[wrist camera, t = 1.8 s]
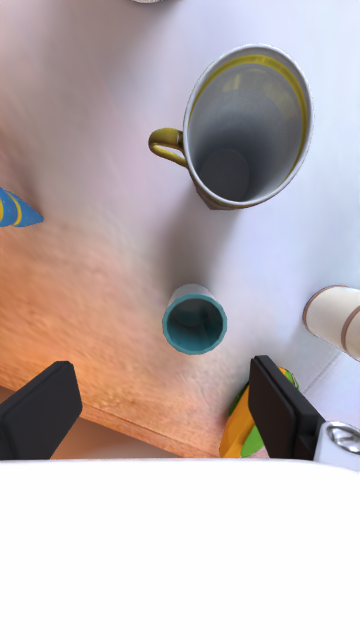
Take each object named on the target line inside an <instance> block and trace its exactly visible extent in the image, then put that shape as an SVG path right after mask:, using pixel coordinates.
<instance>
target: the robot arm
mask: <svg viewBox="0 0 360 640" xmlns="http://www.w3.org/2000/svg"><path fill="white" fill-rule="evenodd" d="M132 1H136V2H140V3H155V2H158V1H161V0H132ZM82 407H83V406H82V401H81V397H80V392H79V388H78V384H77V379H76V375H75V370H74V366H73V364H71V363H70V362H69V361H56V362H54V363H53V364H52V365H50V366H49V367H48V368H46V369H45V370H44V371H43V372H41V373H40V374H39V375H37V376H36V377H35V378H34V379H32V380H31V381H30V382H28V383H27V384H26V385H25V386H23V387H22V388H21V389H19V390H18V391H17V392H16V393H14V394H13V395H12V396H10V397H9V398H8V399H7V400H5V401H4V402H3V403H1V404H0V640H360V430H359V429H358V428H356V427H354V426H351V425H349V424H346V423H343V422H338V421H327V422H326V421H325V419H324V418H323V417H322V416H321V415H320V414H319V413H318V412H317V410H316V409H315V408H314V407H313V406H312V405H311V404H310V403H309V401H308V400H307V399H306V398H305V397H304V396H303V395H302V394H301V392H300V391H299V390H298V389H297V388H296V387H295V386H294V385H293V383H291V382H290V380H289V379H288V378H287V377H286V376H285V375H284V374H283V373H282V371H281V370H280V369H279V368H278V367H277V366H276V365H275V364H274V362H273V361H272V360H271V359H270V358H269V357H268V356H267V355H262V356H255V357H254V359H251V363H250V377H249V391H248V408H249V411H250V413H251V416H252V418H253V420H254V423H255V425H256V427H257V429H258V432H259V434H260V436H261V439H262V441H263V443H264V445H265V448H266V450H267V452H268V455H269V457H270V458H144V459H65V460H64V459H63V460H62V459H61V460H49V459H50V458H51V456H52V455H53V453H54V452H55V450H56V449H57V447H58V446H59V444H60V443H61V441H62V440H63V438H64V437H65V436H66V434H67V433H68V431H69V430H70V428H71V427H72V425H73V424H74V422H75V421H76V419H77V418H78V417H79V415H80V414H81V412H82Z"/></svg>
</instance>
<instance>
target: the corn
mask: <svg viewBox="0 0 360 640" xmlns="http://www.w3.org/2000/svg"><path fill="white" fill-rule="evenodd" d="M278 368H279V369H280V370H281V371H282V373H283V374H284V375H285V376H286V377H287V378H288V379H289V380H290V382H291V383H293V385H294V386H295V382H294V380H293V377H292V375H293V374H292V373H290V372H289V371H287V370H286V369H284V368H281V367H278ZM294 379H295V378H294ZM295 381H296V379H295ZM296 384H297V389H298V390H299V385H298V383H297V381H296ZM248 391H249V382H248V383H247V384H246V386H245V387H244V388H243V390H242V391H241V392H240V394H239V395H238V396H237V398H236V399H235V401H234V403H233V405H232V406H231V408H230V410H229V412H228V414H227V416H226V417H228V416H230V418H229V420H228V421H227V423H226V427H225V430H224V433H223V437H222V440H221V443H220V447H219V453H220V457H221V458H239V457H240V456H242V457H243V458H245V457H247V456H249V455H251V454H253V453H254V452H256V451H258V450H259V449H261V447H262V446H263V445H264V443H263V441H262V439H261V436H260V434H259V432H258V429H257V427H256V425H255V423H254V420H253V418H252V416H251V413H250V411H249V408H248Z"/></svg>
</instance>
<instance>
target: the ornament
mask: <svg viewBox="0 0 360 640" xmlns="http://www.w3.org/2000/svg"><path fill="white" fill-rule="evenodd" d="M40 222H43V217H42V216H41V215H40V214H39V213H37V212H36V211H35V210H34V209H33V208H32V207H31V206H30V205H28V204H27V203H26V202H24V201H23V200H22V199H20V198H19V197H18V196H16V195H15V194H13V193H11V192H9V191H6V190H3V189H2V188H1V187H0V227H5V226H9V225H12V226H15V227H25V226H30V225H33V224H36V223H40Z"/></svg>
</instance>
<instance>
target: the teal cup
mask: <svg viewBox="0 0 360 640" xmlns="http://www.w3.org/2000/svg"><path fill="white" fill-rule="evenodd" d="M162 324H163V333H164V335H165V337H166V339H167V341H168V343H169V344H170V345H171V346H173V347H174V348H175V349H176V350H178V351H180V352H183V353H186V354H190V355H196V354H203V353H206V352H208V351H211V350H213V349H214V348H215V347H216V346H217V345H218V344H219V343H220V342H221V341H222V340H223V337H224V335H225V333H226V331H227V317H226V315H225V312H224V310H223V307H222V306H221V305H220V304H219V302H218V301H217V300H216V298H215V297H214V296H213V295H212V293H211V292H210V291H209V290H208V289H207V288H205V287H204V286H202V285H199V284H195V283H189V284H184V285H182V286H180V287H179V288H177V289H176V290H175V291H174V292H173V294H172V295H171V297H170V300H169V303H168V306H167V309H166V312H165V314H164V317H163V320H162Z"/></svg>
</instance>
